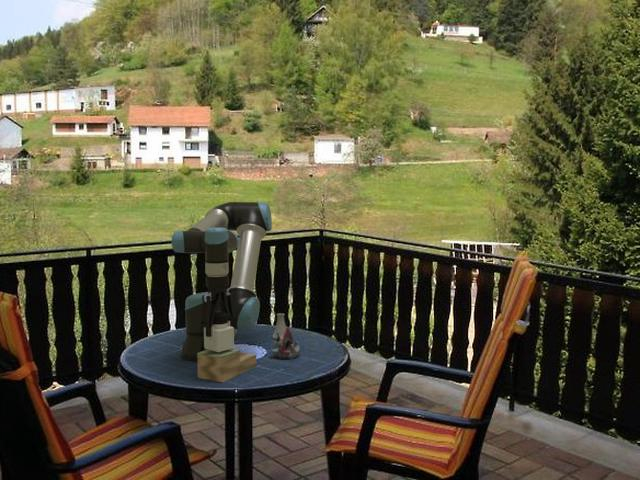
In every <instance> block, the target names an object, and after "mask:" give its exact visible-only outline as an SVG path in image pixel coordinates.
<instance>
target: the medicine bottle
mask: <svg viewBox="0 0 640 480" xmlns="http://www.w3.org/2000/svg"><path fill="white" fill-rule="evenodd" d="M227 325H228V314H227V313H225V312H215V317H214V321H213V325H212V326H213V327H214V343H215V346H214V347H211V346H206V329H205V328H204V348H205V349H208V350H212V351H215V352H221V351H225V350H228V349H232V348H234V349H235V336H234V327H231V326H227Z"/></svg>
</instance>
